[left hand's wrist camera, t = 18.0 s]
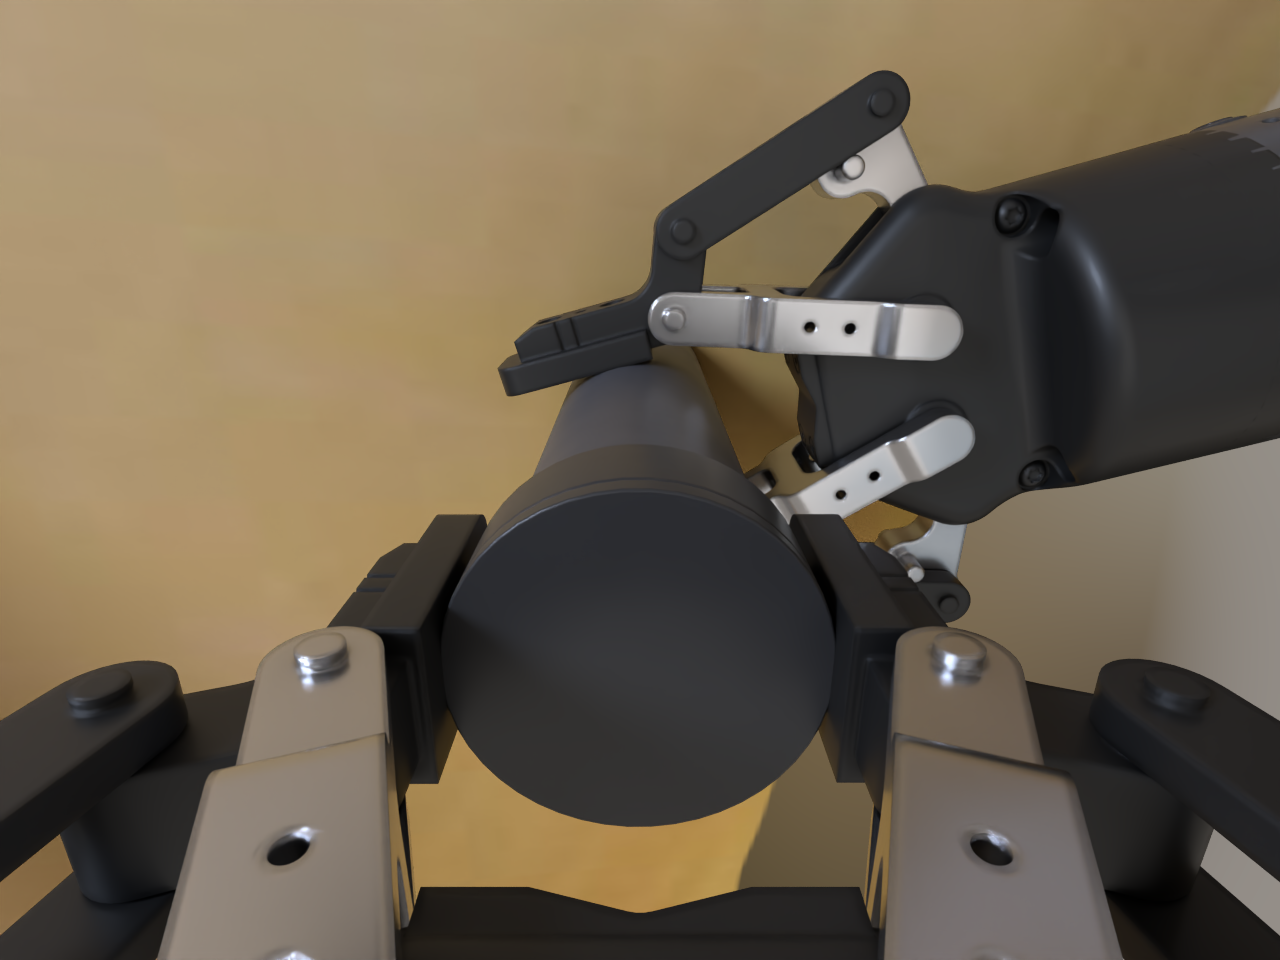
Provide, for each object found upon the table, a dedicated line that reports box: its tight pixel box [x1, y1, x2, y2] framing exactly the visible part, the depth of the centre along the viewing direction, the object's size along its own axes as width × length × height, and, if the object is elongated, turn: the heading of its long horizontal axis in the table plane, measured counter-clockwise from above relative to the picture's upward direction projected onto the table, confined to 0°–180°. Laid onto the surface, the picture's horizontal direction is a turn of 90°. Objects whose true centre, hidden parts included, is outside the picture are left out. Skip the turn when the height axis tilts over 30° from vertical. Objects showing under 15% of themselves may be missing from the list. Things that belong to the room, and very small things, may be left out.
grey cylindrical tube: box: [533, 345, 745, 477], centre depth 17 cm, size 4×4×16 cm
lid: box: [440, 444, 836, 827], centre depth 10 cm, size 5×5×2 cm
